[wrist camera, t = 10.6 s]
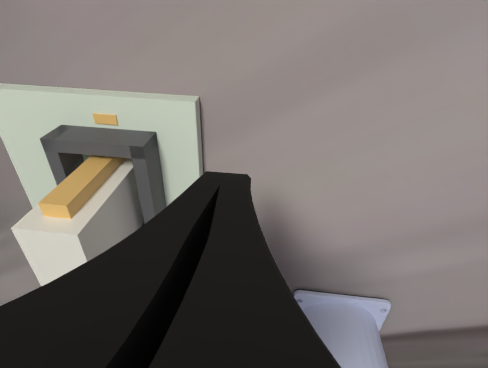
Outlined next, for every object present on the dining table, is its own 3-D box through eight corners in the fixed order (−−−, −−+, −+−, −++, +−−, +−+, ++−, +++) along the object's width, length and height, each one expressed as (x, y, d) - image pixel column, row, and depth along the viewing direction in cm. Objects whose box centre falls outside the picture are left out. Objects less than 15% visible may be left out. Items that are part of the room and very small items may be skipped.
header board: (208, 277, 27) (199, 312, 24) (67, 261, 28) (42, 293, 25) (199, 96, 18) (182, 117, 15) (-8, 82, 19) (-60, 100, 16)
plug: (148, 213, 22) (100, 296, 16) (106, 209, 22) (43, 289, 16) (137, 148, 19) (72, 221, 13) (88, 145, 19) (3, 214, 14)
